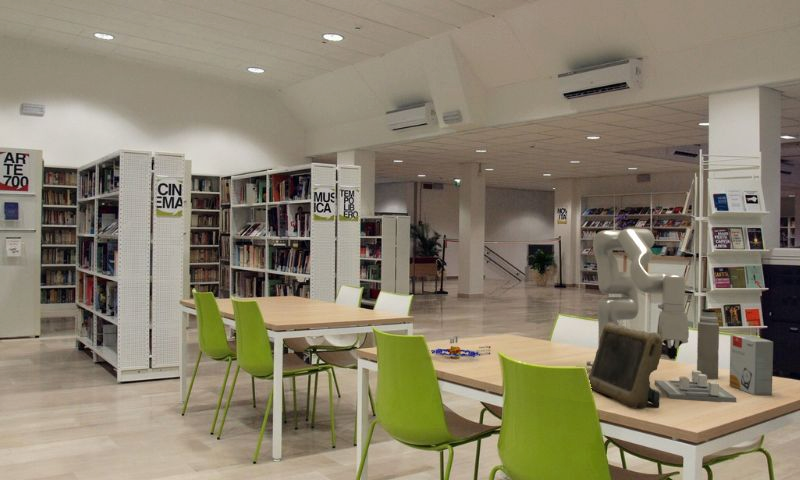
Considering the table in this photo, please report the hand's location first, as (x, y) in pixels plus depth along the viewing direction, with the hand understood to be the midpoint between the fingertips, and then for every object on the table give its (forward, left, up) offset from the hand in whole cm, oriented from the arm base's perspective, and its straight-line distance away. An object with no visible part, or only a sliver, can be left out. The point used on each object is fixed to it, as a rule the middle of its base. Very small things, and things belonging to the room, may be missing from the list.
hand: (671, 358), depth 238 cm
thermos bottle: (+22, +35, -13) cm, 44 cm away
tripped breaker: (+4, 0, -11) cm, 12 cm away
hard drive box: (+31, +13, -13) cm, 37 cm away
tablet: (-19, -11, -13) cm, 26 cm away
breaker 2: (+12, -7, -11) cm, 18 cm away
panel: (+8, +3, -13) cm, 16 cm away
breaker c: (+12, +7, -11) cm, 18 cm away
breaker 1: (+12, +14, -11) cm, 22 cm away
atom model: (-80, +53, -13) cm, 97 cm away
